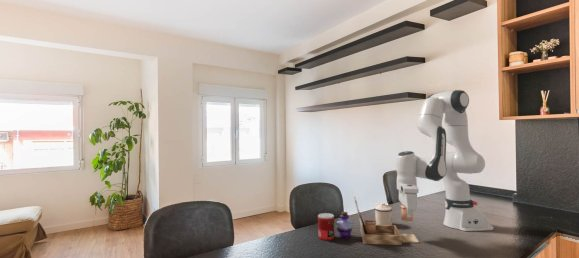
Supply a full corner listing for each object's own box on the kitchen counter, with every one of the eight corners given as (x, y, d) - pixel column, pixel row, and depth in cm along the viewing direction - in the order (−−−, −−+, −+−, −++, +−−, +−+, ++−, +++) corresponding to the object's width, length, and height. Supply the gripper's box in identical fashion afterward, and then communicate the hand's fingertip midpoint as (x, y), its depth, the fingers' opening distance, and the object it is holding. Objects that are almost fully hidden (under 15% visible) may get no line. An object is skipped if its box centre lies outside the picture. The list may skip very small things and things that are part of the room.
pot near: (411, 218, 139) (411, 204, 139) (415, 221, 134) (414, 207, 134) (399, 217, 140) (399, 203, 140) (402, 221, 135) (402, 206, 135)
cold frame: (395, 233, 145) (394, 193, 145) (402, 245, 130) (400, 201, 130) (354, 232, 148) (353, 193, 148) (356, 243, 133) (355, 200, 133)
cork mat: (413, 235, 141) (413, 234, 141) (419, 243, 131) (419, 241, 131) (398, 234, 142) (398, 233, 142) (403, 242, 133) (403, 241, 133)
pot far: (375, 232, 145) (375, 219, 145) (377, 236, 140) (376, 222, 140) (364, 231, 146) (363, 218, 146) (365, 235, 141) (364, 222, 141)
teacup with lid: (396, 226, 155) (395, 204, 155) (380, 227, 153) (380, 205, 153) (384, 219, 167) (383, 199, 167) (369, 221, 165) (369, 200, 165)
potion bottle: (335, 233, 146) (334, 210, 146) (352, 233, 146) (351, 209, 146) (337, 240, 137) (336, 215, 138) (355, 240, 137) (354, 214, 137)
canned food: (330, 241, 136) (330, 218, 136) (315, 238, 140) (315, 216, 140) (337, 236, 142) (336, 214, 142) (322, 234, 146) (321, 212, 147)
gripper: (395, 182, 148) (395, 209, 148) (404, 189, 128) (405, 221, 128) (408, 182, 147) (408, 209, 147) (419, 189, 127) (420, 221, 127)
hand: (407, 215), depth 137 cm, fingers closed on pot near, 5 cm apart
